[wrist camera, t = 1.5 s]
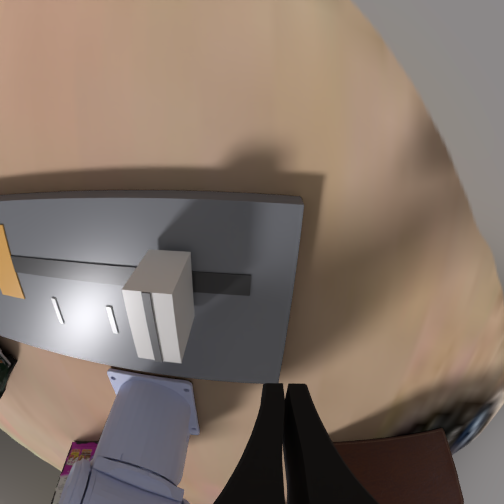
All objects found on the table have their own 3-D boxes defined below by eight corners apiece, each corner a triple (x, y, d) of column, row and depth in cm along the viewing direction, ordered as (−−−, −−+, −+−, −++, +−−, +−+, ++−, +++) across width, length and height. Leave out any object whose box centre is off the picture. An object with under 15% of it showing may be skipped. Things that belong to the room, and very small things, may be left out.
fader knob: (194, 315, 18) (181, 364, 15) (157, 312, 18) (137, 358, 15) (190, 251, 16) (171, 295, 13) (148, 249, 16) (121, 290, 13)
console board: (277, 369, 23) (278, 385, 22) (-6, 322, 23) (-14, 331, 22) (300, 196, 17) (304, 205, 15) (-47, 199, 17) (-58, 205, 16)
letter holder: (302, 441, 29) (308, 552, 17) (443, 425, 30) (471, 510, 17) (287, 471, 34) (289, 559, 21) (411, 458, 34) (428, 532, 22)
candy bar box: (94, 456, 37) (69, 535, 22) (72, 440, 35) (42, 522, 20) (139, 457, 34) (116, 552, 19) (115, 440, 32) (85, 541, 17)
